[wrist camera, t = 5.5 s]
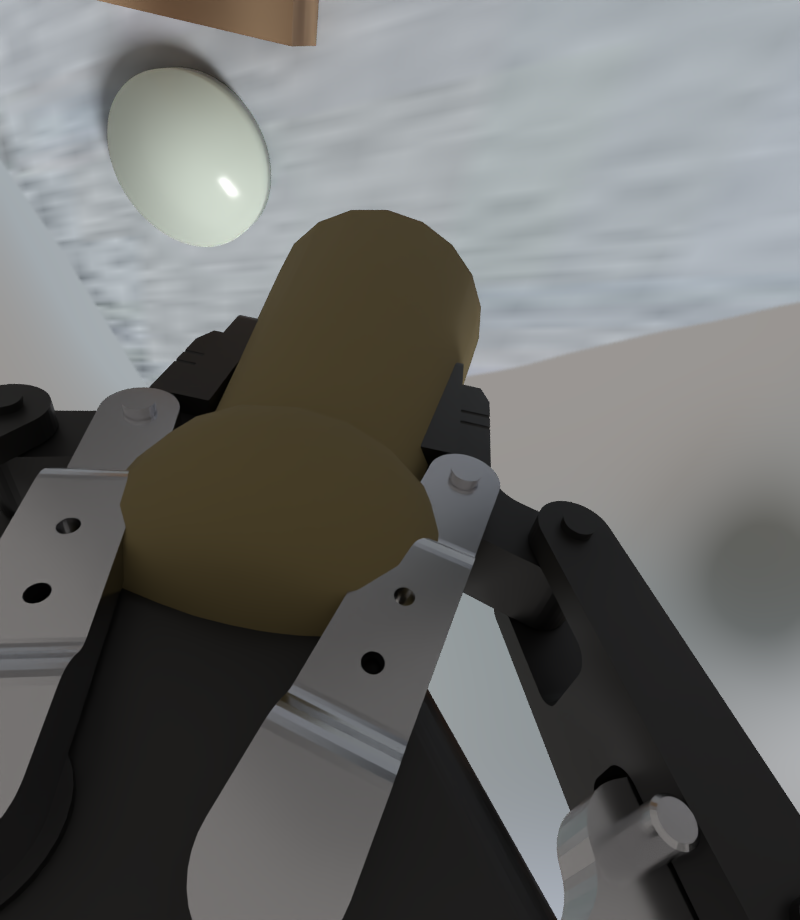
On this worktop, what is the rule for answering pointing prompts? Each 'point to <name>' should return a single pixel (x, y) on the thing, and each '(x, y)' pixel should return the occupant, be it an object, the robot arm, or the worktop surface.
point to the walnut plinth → (242, 16)
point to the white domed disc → (189, 155)
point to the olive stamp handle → (309, 435)
